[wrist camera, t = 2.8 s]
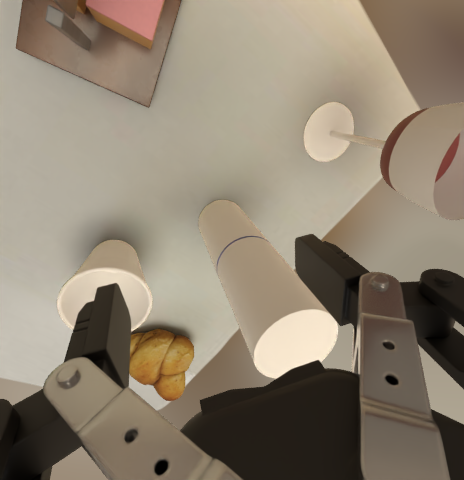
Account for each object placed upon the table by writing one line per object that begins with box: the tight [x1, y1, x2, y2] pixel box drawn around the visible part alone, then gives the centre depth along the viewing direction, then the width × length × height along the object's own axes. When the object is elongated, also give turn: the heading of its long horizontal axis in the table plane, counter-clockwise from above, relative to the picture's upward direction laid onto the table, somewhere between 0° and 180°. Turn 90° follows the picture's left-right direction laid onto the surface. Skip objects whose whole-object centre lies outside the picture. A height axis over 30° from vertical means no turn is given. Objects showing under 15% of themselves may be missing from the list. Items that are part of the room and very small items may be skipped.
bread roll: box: [129, 329, 194, 401], centre depth 47 cm, size 13×10×8 cm
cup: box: [57, 240, 153, 331], centre depth 37 cm, size 10×10×11 cm
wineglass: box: [304, 102, 464, 220], centre depth 32 cm, size 9×10×22 cm
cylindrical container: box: [198, 200, 338, 378], centre depth 33 cm, size 7×7×25 cm
